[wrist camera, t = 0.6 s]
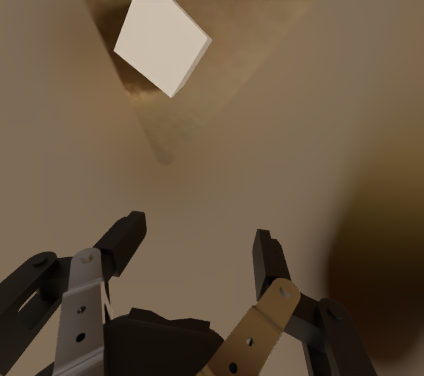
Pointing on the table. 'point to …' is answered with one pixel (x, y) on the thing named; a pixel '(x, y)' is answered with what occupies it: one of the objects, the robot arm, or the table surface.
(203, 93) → the table surface
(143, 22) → the white foam cube
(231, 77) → the table surface
